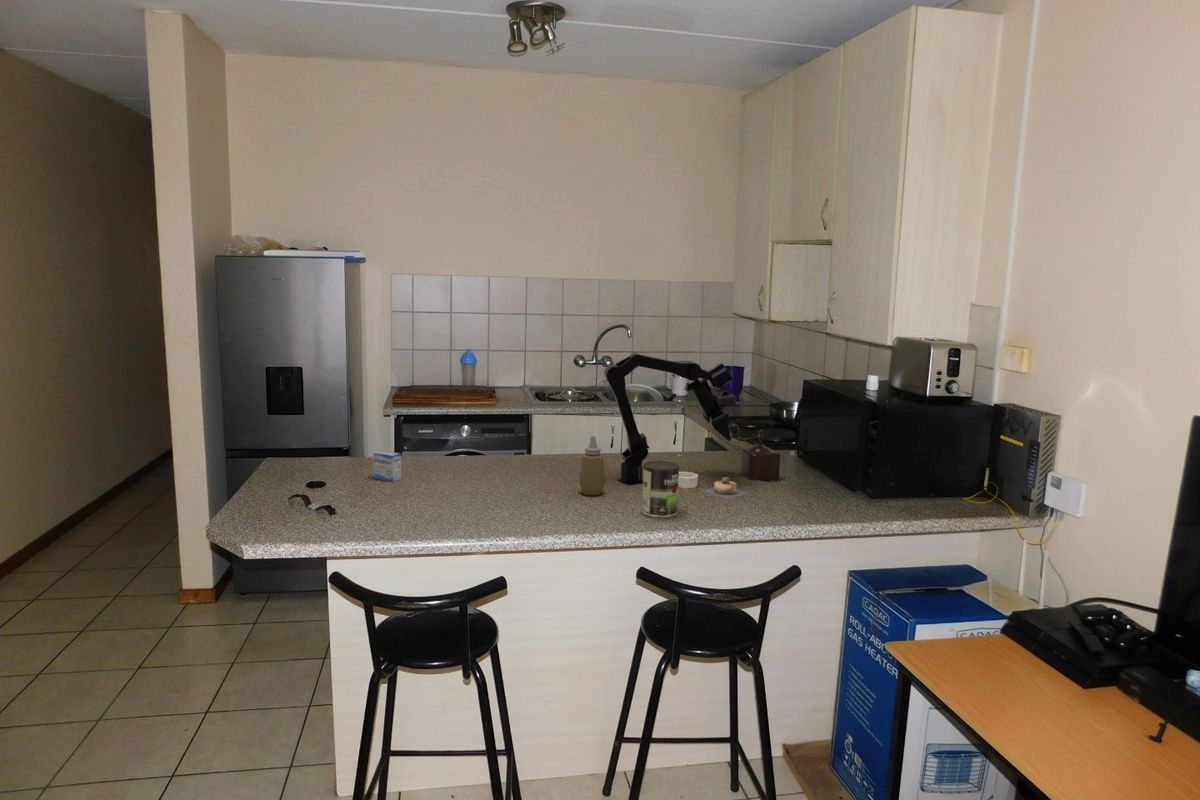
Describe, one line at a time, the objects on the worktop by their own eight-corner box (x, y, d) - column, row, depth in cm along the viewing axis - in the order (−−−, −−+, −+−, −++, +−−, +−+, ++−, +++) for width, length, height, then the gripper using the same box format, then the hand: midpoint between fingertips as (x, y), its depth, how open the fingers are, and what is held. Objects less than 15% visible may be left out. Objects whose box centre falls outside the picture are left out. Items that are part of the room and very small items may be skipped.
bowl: (684, 491, 251) (684, 479, 251) (667, 485, 258) (667, 473, 257) (702, 488, 256) (702, 476, 256) (685, 482, 263) (685, 470, 262)
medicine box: (373, 479, 257) (372, 452, 255) (381, 475, 261) (381, 450, 260) (393, 482, 254) (392, 455, 253) (401, 478, 258) (401, 452, 257)
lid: (725, 496, 245) (726, 481, 244) (709, 491, 250) (710, 476, 250) (740, 492, 249) (741, 478, 248) (724, 487, 254) (725, 473, 254)
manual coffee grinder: (764, 472, 277) (767, 421, 274) (779, 480, 267) (782, 428, 264) (723, 474, 273) (726, 423, 270) (736, 483, 263) (739, 429, 260)
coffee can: (684, 512, 230) (686, 465, 227) (662, 520, 222) (664, 471, 220) (656, 504, 237) (658, 458, 234) (634, 512, 229) (635, 464, 227)
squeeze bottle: (609, 491, 249) (610, 435, 246) (598, 498, 242) (599, 440, 238) (585, 488, 252) (587, 432, 249) (574, 494, 245) (575, 437, 242)
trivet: (725, 500, 242) (725, 499, 242) (700, 492, 251) (700, 490, 251) (750, 495, 249) (750, 493, 249) (724, 487, 257) (724, 485, 257)
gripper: (733, 389, 250) (755, 431, 253) (720, 379, 268) (741, 418, 271) (702, 406, 250) (724, 448, 253) (691, 395, 268) (712, 434, 272)
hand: (726, 436), depth 262 cm, fingers open, 9 cm apart
